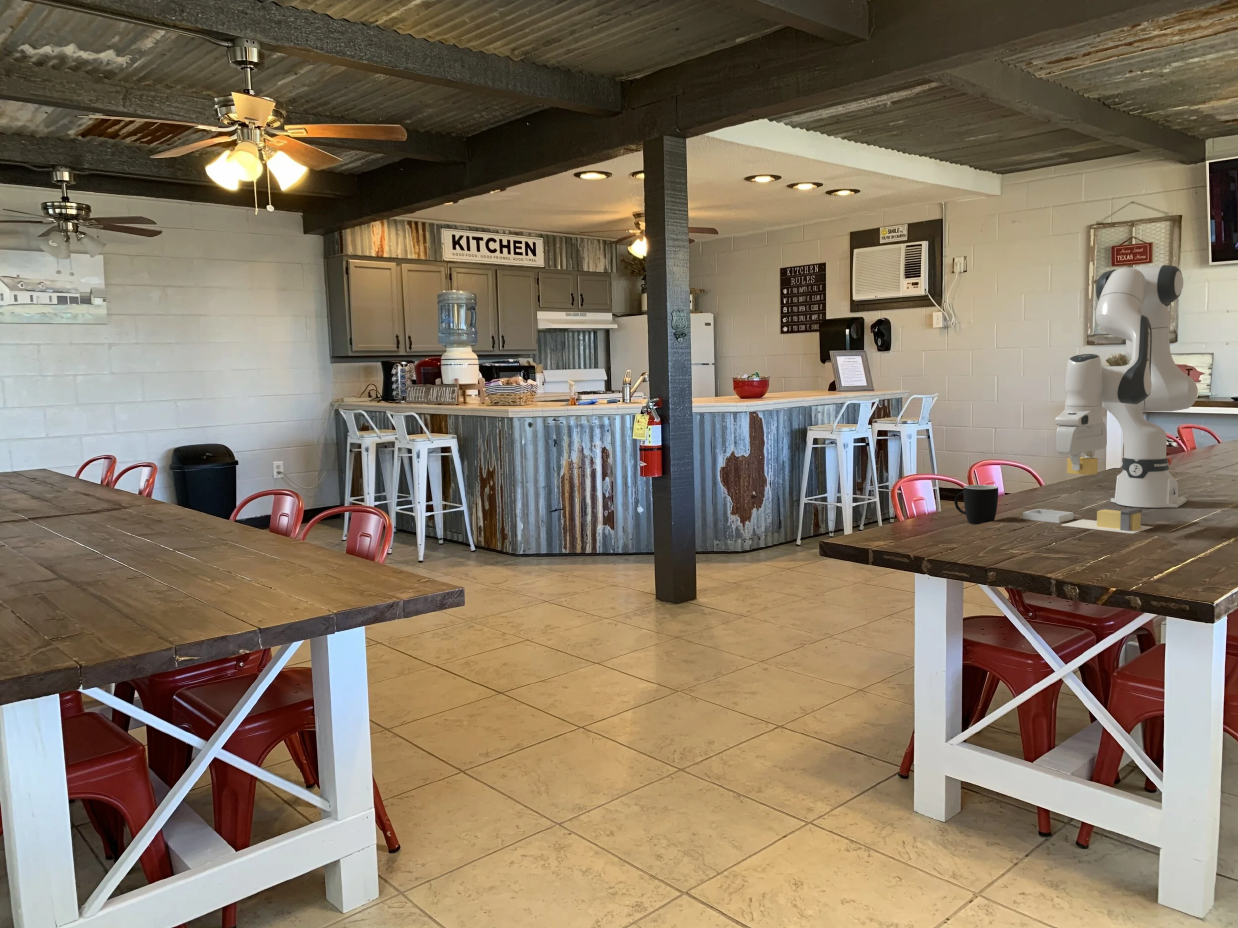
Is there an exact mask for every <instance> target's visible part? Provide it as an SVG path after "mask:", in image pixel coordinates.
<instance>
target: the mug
mask: <svg viewBox="0 0 1238 928" xmlns="http://www.w3.org/2000/svg"><path fill="white" fill-rule="evenodd" d="M961 495H963V502H964V503H963V504H964V510H962V509H961V508H960V507H959V503H958V501H959V497H960V496H961ZM998 502H999V487H998V486H997V485H989V484H970V485H969V484H968V485H964V486H963V490H962V491H960V492H959V493H957V495H956V496H955V497H954V506H955V508H956V510H957V511H958V512H959V513H961V514H963V515H965V517H966V520H967V522H968V524H972V525H982V524H986V523H990V522H995V519H996V515H997V510H998Z"/></svg>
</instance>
